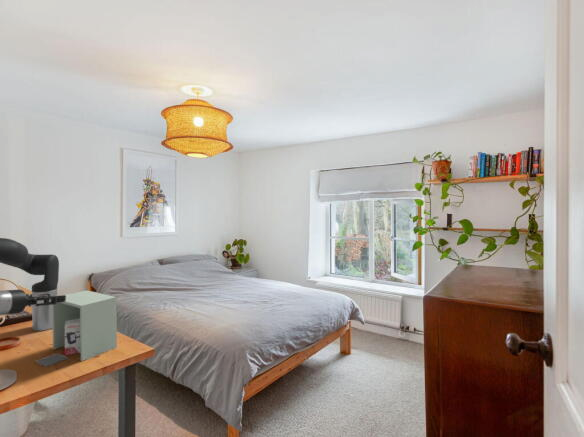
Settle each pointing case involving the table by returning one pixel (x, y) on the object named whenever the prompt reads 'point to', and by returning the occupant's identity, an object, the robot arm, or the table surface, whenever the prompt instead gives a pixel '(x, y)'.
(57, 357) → the coaster
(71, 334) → the ink box
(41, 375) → the table surface
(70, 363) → the table surface
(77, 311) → the cubby
